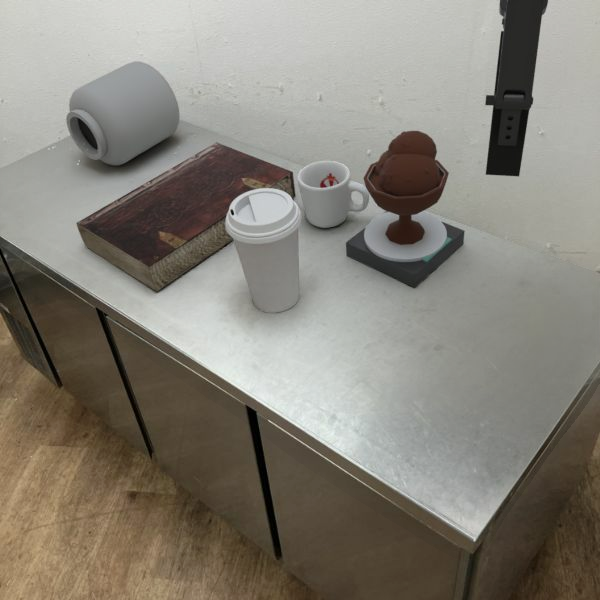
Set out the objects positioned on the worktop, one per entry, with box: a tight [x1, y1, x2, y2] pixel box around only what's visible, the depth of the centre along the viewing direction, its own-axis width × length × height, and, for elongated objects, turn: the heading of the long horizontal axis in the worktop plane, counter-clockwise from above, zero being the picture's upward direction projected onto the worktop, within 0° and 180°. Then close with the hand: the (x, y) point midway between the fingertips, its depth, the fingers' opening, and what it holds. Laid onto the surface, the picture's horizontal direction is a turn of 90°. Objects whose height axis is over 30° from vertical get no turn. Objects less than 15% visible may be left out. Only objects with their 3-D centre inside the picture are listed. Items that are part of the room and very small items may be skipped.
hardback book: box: [76, 142, 297, 293], centre depth 102 cm, size 29×19×5 cm, turn 137°
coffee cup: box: [225, 188, 303, 314], centre depth 84 cm, size 10×10×15 cm
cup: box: [296, 160, 370, 229], centre depth 98 cm, size 11×8×8 cm
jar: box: [47, 60, 196, 167], centre depth 117 cm, size 19×15×25 cm
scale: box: [345, 211, 465, 289], centre depth 93 cm, size 12×12×3 cm
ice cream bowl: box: [363, 130, 450, 245], centre depth 87 cm, size 11×11×15 cm
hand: (505, 133), depth 59 cm, fingers open, 13 cm apart
